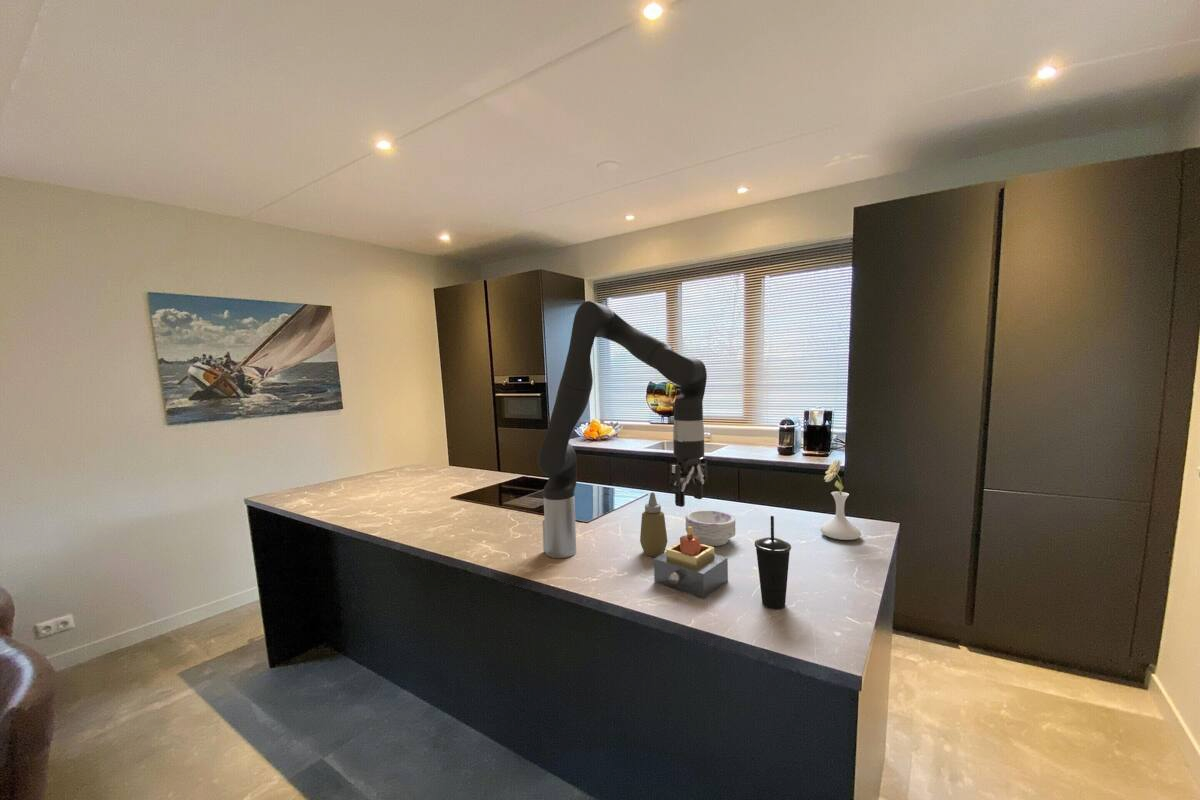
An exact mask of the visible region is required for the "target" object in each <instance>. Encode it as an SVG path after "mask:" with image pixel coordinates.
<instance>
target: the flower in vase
mask: <svg viewBox="0 0 1200 800" xmlns="http://www.w3.org/2000/svg"><path fill="white" fill-rule="evenodd" d="M841 464H842V463H841V460H840V459H835V460H834V461H833V462H831V463H830V464H829V467H828V470H826V471H825V476H824V478H823V480H825V481H824V482H826V483H830V482H831V481H832V480H834V478H836V476H837V478H838V479H837V480H836V481H835V483H834V486H835V488H837V489H838V490H839V491H832V492H830V494H831V495H832V497H833V499H834V502H835V515H834V517H833V518H831V519H829V520H827V521H826V522H825V523H823V524H822V525H821V526H820V529H819V530H820V532H821V534H822V535H824V536H826V537H829V538H831V539H833V540H834V539H835V540H840V541H851V540H852V541H854V540H857V539H860V538H861V536H862V533H861V530H860V529H859V528H858V527H857V526H856V525H855V524H853V523H852V522H850V520H849V519H847V517H846V515H845V506H846V505H845V504H846V500H847V498H849V495H850V494H849V493H848V492H844V491H843V489H844V485H843V483H842V480H841V477H840V475H839V474H838V473H839V471H840V468H841V467H842V465H841Z"/></svg>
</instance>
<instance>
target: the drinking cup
mask: <svg viewBox="0 0 1200 800" xmlns="http://www.w3.org/2000/svg"><path fill="white" fill-rule="evenodd" d="M754 547H755V550H756V559H757V567H758V577H759V586H760V597H761V603H762V605H763V606H764V607H765V608H768V609H772V610H783V609H784V608H785V606H786V598H787V589H788V588H787V587H788V586H787V585H788V577H789V576H788V575H789V574H788V573H789V563H790V552H791V550H792V545H791V544H790V543H789V542H787V541H785V540H783V539H780V538H777V537H775V516H774V515H770V537H769V536H768V537H764V538H759V539H757V540H755V541H754Z"/></svg>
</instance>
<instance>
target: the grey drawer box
mask: <svg viewBox="0 0 1200 800" xmlns="http://www.w3.org/2000/svg"><path fill="white" fill-rule="evenodd" d="M700 551H701V553H700V554H698V555H697V556H693V555H689V554H686V553H682V552H680V542H678V543H676V544H674V545H672V546H671V547H668V548H665V552H664V554H662V555H660V556H655V558H653V572H654V573H653V574H654V575H653V576H654V577H653V578H654V579H653V581H654V583H656V584H659V585H663V586H665V587H668V588H671V589H674V590H676V591H679V592H681V593H685V594H687V595H690V596H693V597H697V598H699V599H702V600H705V599H706V598H708V597H709V596H710V595H712V593H714V592H715V591H717V590H718V589H720V588H721V587H722V586H723V585H724V584H726V583H727V582H728V581H729V575H728V574H729V567H728V566H729V565H728V564H729V563H728V557H726V556H723V555H719V554H717V553H715V546H707V545H703V544H700Z"/></svg>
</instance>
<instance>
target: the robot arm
mask: <svg viewBox="0 0 1200 800" xmlns="http://www.w3.org/2000/svg"><path fill="white" fill-rule="evenodd" d="M595 338H603V339H605V340H609V341H611V342H614V343H616V344H618V345H619V346H621V347H623V348H624V349H626V350H627V352H629V353H630V354H631V355H632V356H633V357H634V358H636V359H638V360H639V361H640V362H642V363H644V364H646V365H647V366H649V367H650V368H653V369H655V370H657V371H658V373H660V374H661V375H662V376H663V378H664V377H665V378H666V379H667V380H668V381H669V382H671V383H673V384H675V385H677V386H680V388H679V394H678V396H677V397H676V398H674V402H673V429H672V431H673V432H672V439H673V440H672V442H673V444H672V445H673V447H672V448H673V457H675V458H676V459H677V463H676V464H669V466H668V467H669V469H668V470H669V472H668V474H669V475H668V489H669V490H673V491H674V498H675V499H674V501H675V502H674V503H675V506H677V507H680V508H683V507H685V504H686V503H685V501H686V500H685V499H686V498H685V489H686V486H687V485H688V484H689V482H690V480H692V481H693V498H694V499H696V500H702V499H703V498H704V497H703V496H704V495H703V494H704V490H703V489H704V488H703V486H704V484H705V481H706V482H707V481H708V478H709V476H708V475H709V473H708V459H707V457H704V456H705V428H704V427H705V426H704V409H703V408H704V407H703V401H704V397H705V393H706V392H705V391H706V387H707V386H706V385H707V377H708V375H707V374H708V373H707V368H706V365H705V364H704V361H702V360H701V359H699V358H697V357H690V356H689V357H686V356H685V355H682V354H680V353H678V352H676V351H675V350H674V349H673V347H672V346H671V345H669V344H668V343H666V342H664V341H662V340H660V339H658V338H657V337H655V336H653V335H650V334H649V333H647V332H644V331H643V330H641V329H638V328H637V327H635V326H633V325H632V324H630V323H628V322H627V321H626V320H624V318H622V317H621V316H620V315H618V314H617V313H616V312H615V311H614V310H612V309H611V308H610V307H608V306H607V305H605V304H602V303H599V302H596V301H593V300H587V301H586V300H585V301H584V302H582V303H581V304H580V305H579V306H578V308H576V311H575V314H574V318H573V323H572V328H571V335H570V342H569V345H568V352H567V355H566V360H565V364H564V368H563V371H562V376H561V378H560V382H559V385H558V388H557V393H556V397H555V400H554V404H553V405H554V406H553V408H552V412H551V415H550V416H551V417H550V421H549V424H548V426H547V430H546V433H545V435H544V438H543V440H542V443H541V445H540V448H539V451H538V454H537V467H538V468H539V470H540V472H541V473H542V474H543V475H544V476H547V477H548V480H547V482H546V484H545V485H544V487H543V492H542V493H543V514H544V516H543V518H544V520H543V521H542V541H543V542H542V545H543V552H544V553H545V556H547V557H549V558H553V559H565V558H570V557H572V556H573V555H575V554H576V553H577V537H576V536H577V533H576V531H577V530H576V505H575V503H576V500H575V499H576V498H575V489H576V486H577V480H578V479H577V476H578V473H577V471H578V469H577V468H578V466H577V463H578V462H577V460H578V459H577V453H576V450H575V448H574V447H573V446H572V444H571V443H569V442H570V439H571V436H572V433H573V430H574V429H575V427H576V425H577V424H578V422H579V421H580V419H581V417H582V416H583V414H584V412H585V410H586V408H587V406H588V403H589V399H590V396H591V393H592V389H593V382H594V381H593V371H592V363H591V362H592V361H591V355H592V349H593V345H594V342H595ZM674 481H675V482H674Z"/></svg>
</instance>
